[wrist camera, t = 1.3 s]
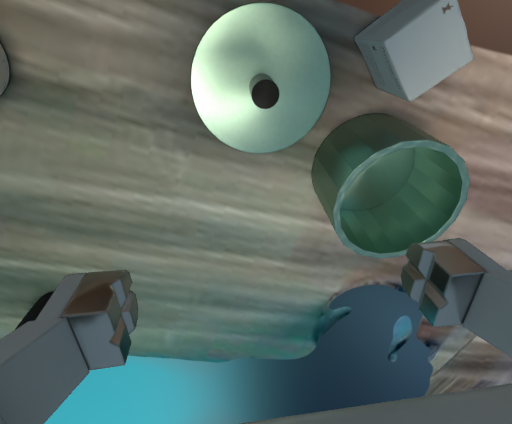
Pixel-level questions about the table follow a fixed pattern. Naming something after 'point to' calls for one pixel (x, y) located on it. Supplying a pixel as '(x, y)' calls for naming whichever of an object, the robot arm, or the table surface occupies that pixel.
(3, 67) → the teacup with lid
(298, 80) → the lid
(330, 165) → the pot
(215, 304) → the table surface
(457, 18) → the product box
